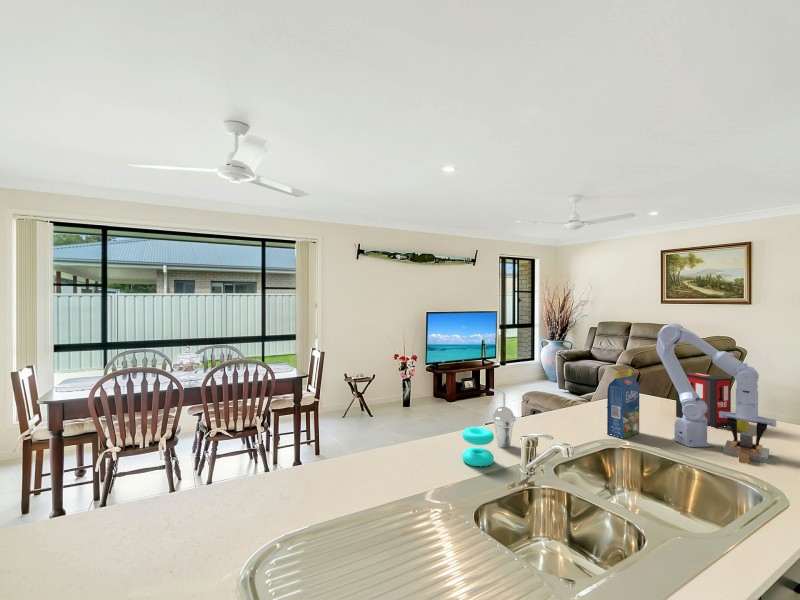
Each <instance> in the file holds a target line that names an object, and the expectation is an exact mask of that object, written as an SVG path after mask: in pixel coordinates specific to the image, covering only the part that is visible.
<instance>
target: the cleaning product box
mask: <svg viewBox="0 0 800 600" xmlns="http://www.w3.org/2000/svg"><path fill="white" fill-rule="evenodd" d="M684 372H685V374H686V376H687V378H688V380H689V382H690V384H691V386H692V387H693V389H694V391H695V392H696V393H697V394H698V395H699V397H700V399H701V400H703V401H704V402H705V403H706V404H707V407H708V410H707V412H706V414H704V415H705V417H706V418H707V427H709V426H711V427H710V428H712V427H714V428H713V429H719V428H718V427H722V428H725V427H724V426H729V425H728V423H727V418H719V411H723V412H732V409H731V408H732V406H731V403H732V398H731V396H732V392H731V391H732V390H731V389H732V388H731V387H732V379H731V377H724V376H719V375H715V374H714V375H713V374H708V373H702V372H697V371H692V370H690V371H684ZM675 390H676V389H675ZM675 395H676V396H675V417H676V418H678V419H681V418H682V417H683V415H684V414H683V412H682V404H681V402H680V397H679V394H678V392H677V390H676V391H675Z"/></svg>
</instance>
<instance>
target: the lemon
mask: <svg viewBox="0 0 800 600" xmlns="http://www.w3.org/2000/svg"><path fill="white" fill-rule="evenodd" d="M749 424H750V422H746V421H740V420H737V432H738V431H739V432H738V433H741V431H742V432H745V431H746V430H747V429H748V428H749Z"/></svg>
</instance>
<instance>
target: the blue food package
mask: <svg viewBox="0 0 800 600" xmlns="http://www.w3.org/2000/svg"><path fill="white" fill-rule="evenodd" d="M614 373H615V374H614V379H613V380H612V381H611V382H610V383H609V384H608V387H607V395H606V397H607V400H606V403H607V404H606V405H607V410H606V412H607V413H606V414H607V415H606V416H607V417H606V421H607V423H606V425H607V426H606V427H607V428H606V430H607V431H606V434H607V435H608V434H612V435H615V436H618V437H622V438H624V439H627V438H629V436H630V437H633V436H632V435H634V436H635V434H636V435H637V434H640V386H639V382H637V380H636V379H635V377H634V376H633V375H632V374H633V369H632V368H629V369H623V370H616V371H615V372H614ZM626 437H627V438H626Z"/></svg>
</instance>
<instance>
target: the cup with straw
mask: <svg viewBox="0 0 800 600" xmlns="http://www.w3.org/2000/svg"><path fill="white" fill-rule="evenodd" d="M489 391H491V392H495V393H498V394H502V397H503V398H502V399H503V401H502V404H503V405H502V406H500V407H499V406H498V408H496V409H495V410H494V413H492V416H491V419H492V420H493V424H494V426H495V427H494V428H495V436H496V442H497V445H498V446H497V447H499V446H500V447H499V448H501V447H509V448H510V447H511V443H512V437H513V427H514V423H515V422H516V421H517V416H515V414H514V412H513V410H512V409H511V408H509V407H507V406H506V393H505V392H504V391H501V390H497V389H494V388H489Z"/></svg>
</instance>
